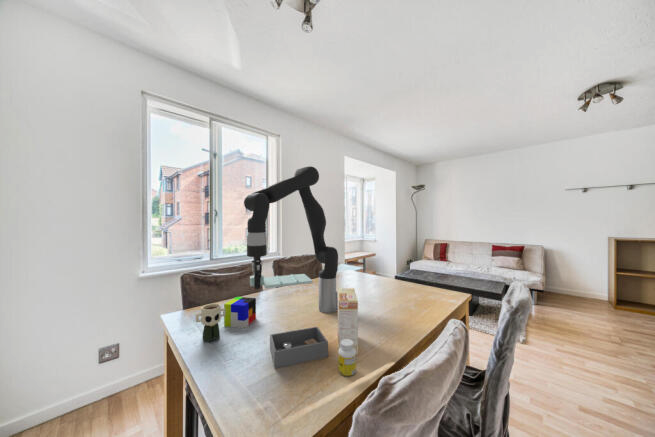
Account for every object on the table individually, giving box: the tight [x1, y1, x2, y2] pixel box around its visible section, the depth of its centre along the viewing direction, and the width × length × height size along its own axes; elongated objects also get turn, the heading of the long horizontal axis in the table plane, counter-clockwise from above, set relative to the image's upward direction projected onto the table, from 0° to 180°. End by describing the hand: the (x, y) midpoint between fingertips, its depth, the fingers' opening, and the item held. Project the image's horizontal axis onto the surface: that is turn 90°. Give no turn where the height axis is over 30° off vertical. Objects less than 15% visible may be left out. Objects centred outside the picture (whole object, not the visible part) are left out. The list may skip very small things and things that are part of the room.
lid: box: [249, 273, 314, 289], centre depth 96 cm, size 24×13×3 cm, turn 111°
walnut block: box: [304, 339, 318, 345], centre depth 83 cm, size 4×4×4 cm
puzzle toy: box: [223, 296, 257, 329], centre depth 109 cm, size 10×10×10 cm
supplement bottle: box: [338, 339, 357, 378], centre depth 73 cm, size 5×5×10 cm
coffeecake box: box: [337, 287, 359, 355], centre depth 89 cm, size 15×7×20 cm, turn 178°
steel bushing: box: [283, 342, 292, 349], centre depth 83 cm, size 3×3×3 cm
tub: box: [269, 326, 329, 370], centre depth 83 cm, size 18×12×6 cm, turn 110°
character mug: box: [195, 303, 226, 343], centre depth 94 cm, size 11×7×13 cm, turn 127°
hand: (257, 287), depth 93 cm, fingers closed on lid, 3 cm apart
